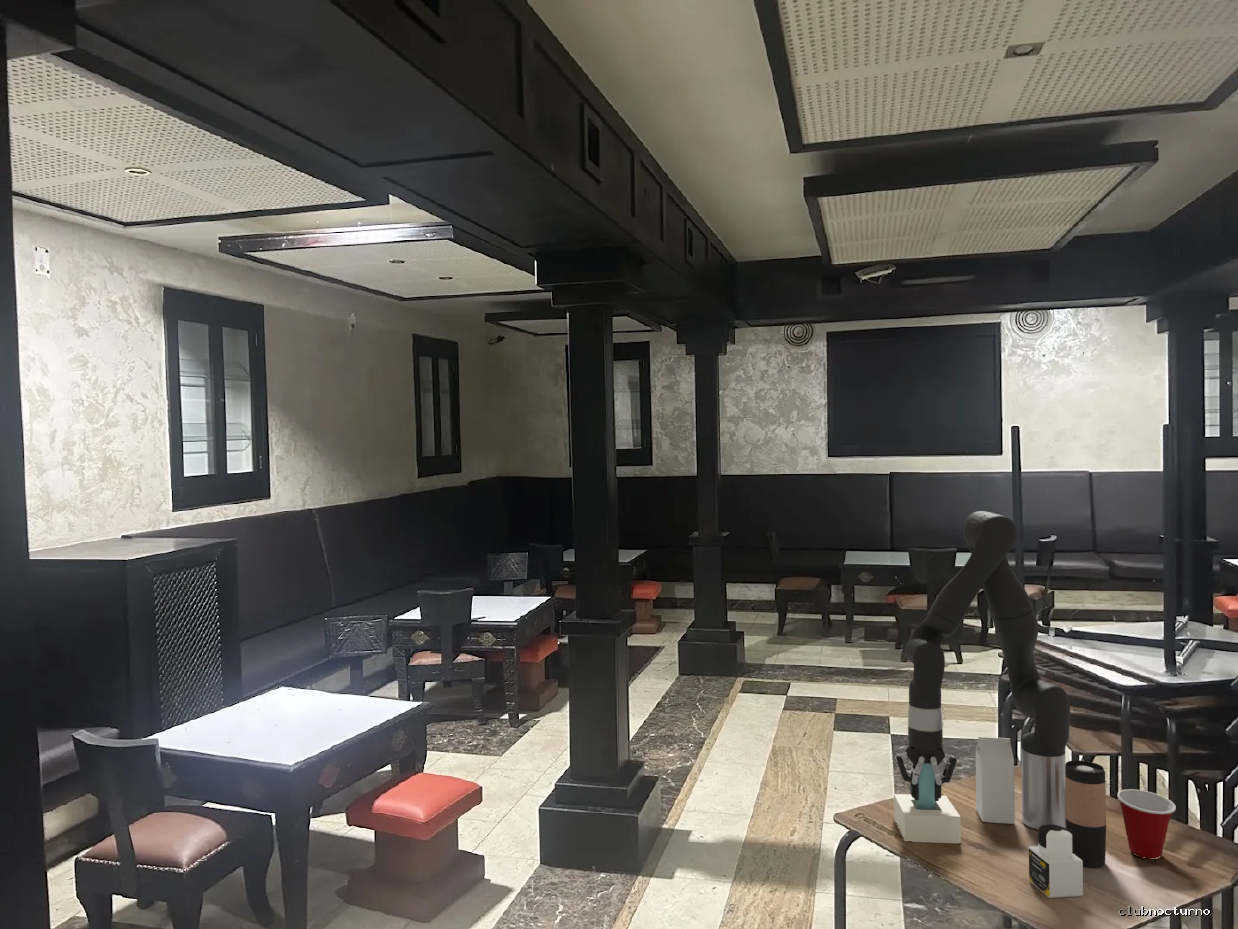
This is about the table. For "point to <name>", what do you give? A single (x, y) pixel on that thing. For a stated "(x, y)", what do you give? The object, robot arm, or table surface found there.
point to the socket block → (927, 820)
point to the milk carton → (995, 780)
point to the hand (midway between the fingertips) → (925, 799)
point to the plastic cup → (1145, 821)
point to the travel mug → (1086, 811)
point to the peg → (926, 788)
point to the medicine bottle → (1055, 863)
